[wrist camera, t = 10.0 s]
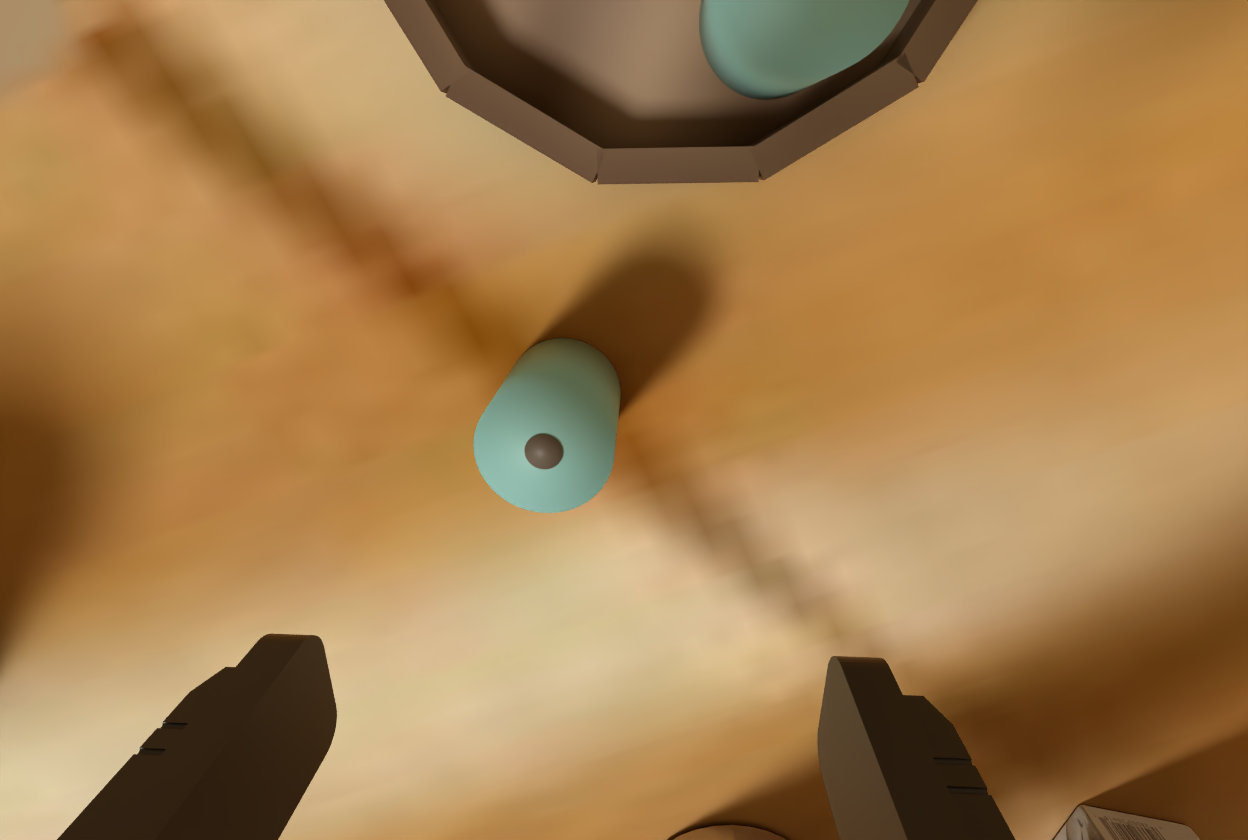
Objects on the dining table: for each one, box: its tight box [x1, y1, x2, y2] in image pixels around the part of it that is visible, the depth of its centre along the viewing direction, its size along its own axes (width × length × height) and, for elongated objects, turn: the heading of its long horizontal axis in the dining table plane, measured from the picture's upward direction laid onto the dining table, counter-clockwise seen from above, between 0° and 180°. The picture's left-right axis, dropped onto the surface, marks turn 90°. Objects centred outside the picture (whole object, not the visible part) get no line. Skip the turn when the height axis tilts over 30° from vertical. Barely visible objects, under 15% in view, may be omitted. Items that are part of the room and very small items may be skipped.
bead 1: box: [474, 338, 621, 513], centre depth 22 cm, size 4×4×6 cm
